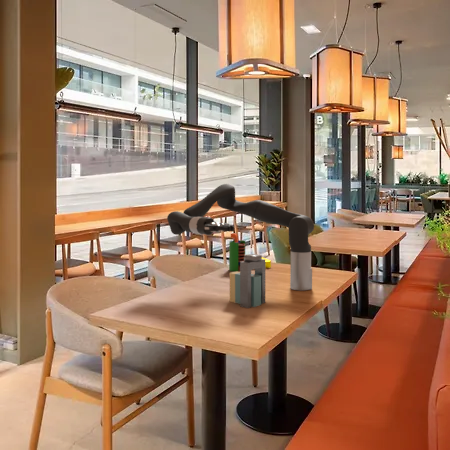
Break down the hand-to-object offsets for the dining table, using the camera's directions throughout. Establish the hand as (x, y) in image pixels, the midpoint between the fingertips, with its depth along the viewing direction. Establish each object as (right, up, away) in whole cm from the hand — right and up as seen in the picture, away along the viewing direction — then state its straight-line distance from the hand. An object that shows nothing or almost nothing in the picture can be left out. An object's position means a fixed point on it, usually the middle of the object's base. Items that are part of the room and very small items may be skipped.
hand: (231, 228), depth 207 cm
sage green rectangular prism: (+6, -30, -2) cm, 31 cm away
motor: (+4, -23, +68) cm, 72 cm away
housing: (+9, -31, -5) cm, 32 cm away
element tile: (+14, -23, +78) cm, 82 cm away
